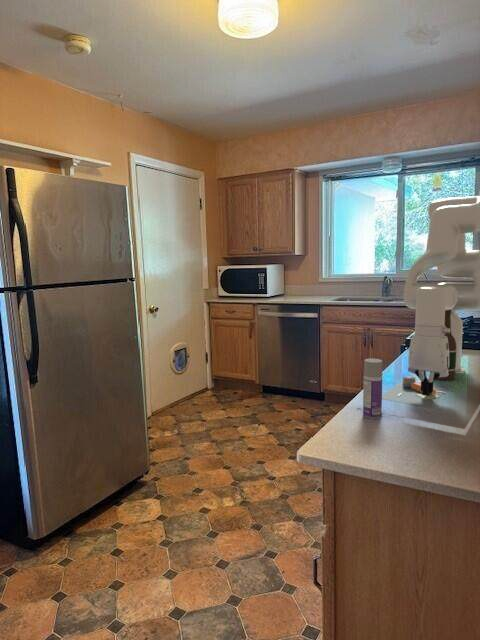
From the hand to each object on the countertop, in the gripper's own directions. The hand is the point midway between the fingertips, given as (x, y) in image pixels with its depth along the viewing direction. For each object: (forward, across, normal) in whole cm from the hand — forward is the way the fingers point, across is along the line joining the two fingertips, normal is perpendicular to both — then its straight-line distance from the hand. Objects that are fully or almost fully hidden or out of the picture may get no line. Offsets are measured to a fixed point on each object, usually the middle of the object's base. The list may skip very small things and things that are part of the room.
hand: (426, 394), depth 123 cm
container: (+3, +9, +19) cm, 21 cm away
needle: (+1, +4, -5) cm, 6 cm away
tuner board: (+2, +4, -3) cm, 6 cm away
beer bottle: (+2, +1, -23) cm, 23 cm away
